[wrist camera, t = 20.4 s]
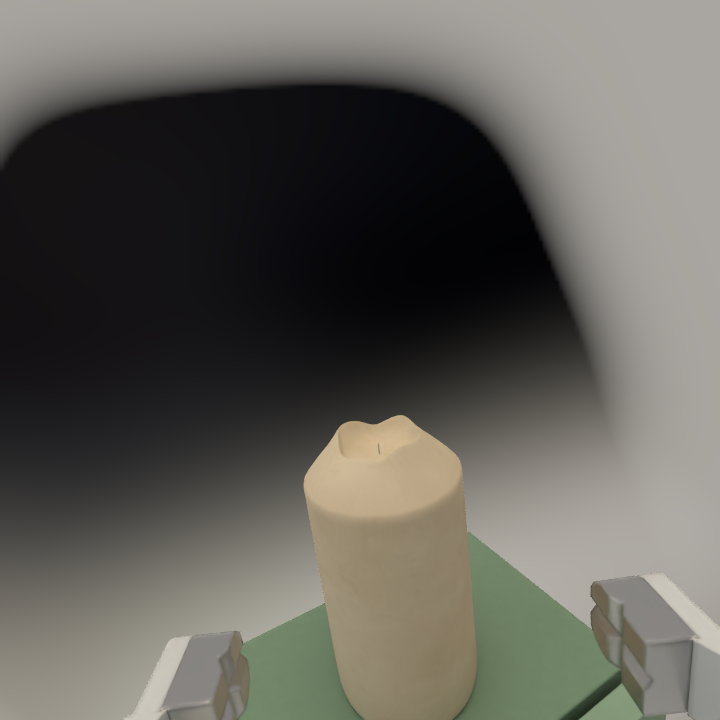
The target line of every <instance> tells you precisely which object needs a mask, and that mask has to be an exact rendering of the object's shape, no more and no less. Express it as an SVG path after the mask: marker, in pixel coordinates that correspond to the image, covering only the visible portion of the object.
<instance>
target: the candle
mask: <svg viewBox="0 0 720 720" xmlns="http://www.w3.org/2000/svg"><path fill="white" fill-rule="evenodd" d="M304 491H305V496H306V502H307V507H308V513H309V518H310V523H311V528H312V534H313V539H314V545H315V550H316V556H317V561H318V567H319V572H320V577H321V583H322V588H323V593H324V599H325V605H326V610H327V615H328V621H329V626H330V632H331V637H332V642H333V648H334V653H335V658H336V663H337V668H338V672H339V677H340V681H341V684H342V687H343V689H344V692H345V694H346V696H347V698H348V700H349V702H350V704H351V705H352V707H353V708H354V709H355V711H356V712H357V713H358V714H359V715H360V716H361V717H362V718H363V719H364V720H452V719H454V718H455V717H456V716H457V715H458V714H459V713H460V712H461V710H462V709H463V708H464V706H465V705H466V703H467V702H468V700H469V698H470V696H471V693H472V691H473V687H474V684H475V678H476V670H477V653H476V637H475V624H474V612H473V599H472V587H471V574H470V562H469V549H468V537H467V525H466V512H465V500H464V487H463V475H462V467H461V462H460V460H459V459H458V457H457V456H456V455H455V454H454V453H453V452H452V451H451V450H450V449H449V448H447V447H446V446H445V445H444V444H442V443H441V442H440V441H438V440H437V439H435V438H434V437H432V436H431V435H429V434H428V433H426V432H425V431H423V430H422V429H420V428H419V427H417V426H416V425H415V424H414V423H413V422H412V421H410V420H409V419H408V418H407V417H405V416H394V417H392V418H390V419H388V420H386V421H384V422H382V423H379V424H376V425H369V424H366V423H363V422H358V421H352V422H348V423H345V424H343V425H341V426H340V427H339V429H338V430H337V432H336V434H335V435H334V437H333V438H332V440H331V441H330V443H329V444H328V446H327V447H326V448H325V449H324V450H323V452H322V453H321V454H320V455H319V457H318V458H317V460H316V461H315V462H314V464H313V465H312V466H311V468H310V469H309V470H308V472H307V474H306V476H305V480H304Z"/></svg>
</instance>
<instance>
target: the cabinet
mask: <svg viewBox="0 0 720 720" xmlns="http://www.w3.org/2000/svg"><path fill="white" fill-rule="evenodd" d="M467 537H468V549H469V562H470V574H471V587H472V599H473V612H474V624H475V637H476V653H477V670H476V678H475V684H474V687H473V691H472V693H471V696H470V698H469V700H468V702H467V703H466V705H465V706H464V708H463V709H462V710H461V712H460V713H459V714H458V715H457V716H456V717H455V718H454V719H452V720H579V719H580V718H581V717H583V716H584V715H585V714H586V713H587V712H588V711H590V710H591V709H592V708H593V707H594V706H596V705H597V704H598V703H599V702H600V701H602V700H603V699H604V698H605V697H606V696H607V695H609V694H610V693H611V692H612V691H613V690H615V689H616V688H617V687H618V686H619V685H620V684H622V683H621V679H622V671H621V670H620V669H618V668H617V667H615V666H614V665H612V664H611V663H609V662H608V661H607V659H606V658H605V656H604V655H603V653H602V651H601V650H600V648H599V646H598V644H597V642H596V640H595V637H594V633H593V630H592V629H590V628H589V627H588V626H587V625H585V624H584V623H583V622H582V621H580V620H579V619H578V618H576V617H575V616H574V615H573V614H571V613H570V612H569V611H568V610H566V609H565V608H564V607H563V606H561V605H560V604H559V603H558V602H556V601H555V600H554V599H553V598H551V597H550V596H549V595H548V594H546V593H545V592H544V591H543V590H541V589H540V588H539V587H538V586H536V585H535V584H534V583H532V582H531V581H530V580H529V579H528V578H526V577H525V576H524V575H523V574H521V573H520V572H519V571H517V570H516V569H515V568H514V567H513V566H511V565H510V564H509V563H508V562H506V561H505V560H504V559H503V558H501V557H500V556H499V555H498V554H496V553H495V552H494V551H493V550H491V549H490V548H489V547H488V546H486V545H485V544H484V543H482V542H481V541H480V540H479V539H477V538H476V537H475V536H474V535H472V534H471V533H470V532H468V533H467ZM241 654H242V655H243V656H244V657H246V658H247V660H248V665H249V671H250V688H249V698H248V702H247V707H246V711H245V712H244V713H243V714H242V716H241V717H240V718H239V720H364V719H363V718H362V717H361V716H360V715H359V714H358V713H357V712H356V711H355V709H354V708H353V707H352V705H351V704H350V702H349V700H348V698H347V696H346V694H345V692H344V689H343V687H342V684H341V681H340V677H339V672H338V668H337V663H336V658H335V653H334V648H333V642H332V637H331V632H330V626H329V621H328V615H327V610H326V605H325V603H324V604H322V605H321V606H319V607H316V608H314V609H312V610H310V611H308V612H306V613H304V614H302V615H300V616H298V617H296V618H294V619H292V620H290V621H288V622H286V623H284V624H282V625H280V626H278V627H276V628H274V629H272V630H270V631H268V632H266V633H264V634H262V635H260V636H258V637H256V638H254V639H252V640H250V641H248V642H246V643H244V644H243V645H242V649H241Z"/></svg>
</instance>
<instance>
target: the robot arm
mask: <svg viewBox="0 0 720 720" xmlns="http://www.w3.org/2000/svg"><path fill="white" fill-rule="evenodd" d="M591 597H592V599H593V600H594V602H595V603H596V606H595V607H594V608H593V610H592V611H591V626H592V630H593V633H594V637H595V640H596V642H597V644H598V646H599V648H600V650H601V651H602V653H603V655H604V656H605V658H606V659H607V661H608V662H609V663H611V664H612V665H614V666H615V667H617V668H618V669H620V670H621V671H622V679H621V683H622V684H623V686H624V687H625V689H626V690H627V692H628V693H629V695H630V696H631V698H632V699H633V701H634V702H635V704H636V705H637V707H638V708H639V710H640V711H641V713H642V714H643V716H644V717H645V716H655V715H665V714H675V713H685V712H688V716H690V717H691V718H692V719H693V720H720V627H718V626H717V625H716V623H714V622H713V621H712V620H711V619H710V618H709V617H708V616H707V615H706V614H705V613H704V612H703V611H702V610H701V609H700V608H699V607H698V606H697V605H696V604H695V603H694V602H693V601H692V600H691V599H690V598H689V597H688V596H687V595H686V594H685V593H684V592H683V591H682V590H680V588H679V587H678V586H676V585H675V584H674V583H673V582H672V581H671V580H670V579H669V578H668V577H667V576H666V575H664V574H662V573H660V572H657V573H650V574H644V575H637V576H630V577H623V578H616V579H609V580H602V581H596V582H593V584H592V585H591ZM242 645H243V641H242V638H241V634H240V632H239V631H229V632H220V633H210V634H201V635H194V636H187V637H178V638H172V639H171V640H170V642H168V643H167V645H166V647H165V649H164V651H163V653H162V655H161V657H160V659H159V661H158V664H157V665H156V668H155V670H154V672H153V674H152V676H151V678H150V680H149V682H148V684H147V686H146V688H145V691H144V693H143V695H142V697H141V699H140V701H139V703H138V705H137V707H136V709H135V712H134V713H133V715H130V716H125V717H124V718H123V719H122V720H239V718H240V717H241V716H242V714H243V713H244V712H245V711H246V707H247V702H248V698H249V688H250V671H249V665H248V660H247V658H246V657H244V656H243V655H242V654H241V649H242Z"/></svg>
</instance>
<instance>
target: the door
mask: <svg viewBox="0 0 720 720" xmlns="http://www.w3.org/2000/svg"><path fill="white" fill-rule="evenodd" d="M665 719H666V714H665V715H655V716H645V717H644V716H643V714H642V713H641V711H640V710H639V708H638V707H637V705H636V704H635V702H634V701H633V699H632V698H631V696H630V695H629V693H628V692H627V690H626V689H625V687H624V686H623V684H620V685H619V686H618V687H617V688H616V689H615V690H613V691H612V692H611V693H610V694H609V695H607V696H606V697H605V698H604V699H603V700H602V701H600V702H599V703H598V704H597V705H596V706H594V707H593V708H592V709H591V710H590V711H588V712H587V713H586V714H585V715H584V716H583V717H581V718H580V719H579V720H665Z"/></svg>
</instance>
